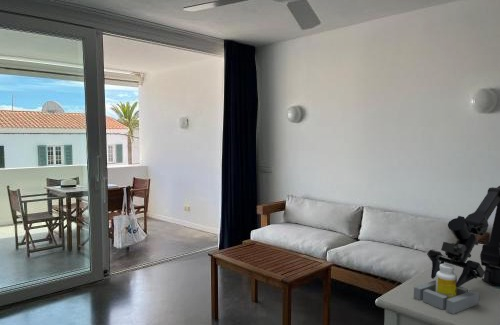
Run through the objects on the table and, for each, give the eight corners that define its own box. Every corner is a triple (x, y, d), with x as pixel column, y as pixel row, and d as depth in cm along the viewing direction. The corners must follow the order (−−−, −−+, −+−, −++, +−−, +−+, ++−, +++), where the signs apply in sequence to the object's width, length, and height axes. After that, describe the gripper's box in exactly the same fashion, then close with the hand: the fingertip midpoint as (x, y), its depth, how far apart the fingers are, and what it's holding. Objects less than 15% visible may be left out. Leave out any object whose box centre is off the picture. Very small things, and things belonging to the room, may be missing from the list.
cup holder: (438, 289, 150) (439, 279, 149) (478, 304, 137) (478, 292, 136) (413, 297, 142) (414, 287, 142) (453, 314, 129) (453, 302, 129)
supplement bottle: (458, 305, 135) (460, 269, 134) (438, 304, 137) (439, 268, 136) (452, 297, 142) (454, 263, 141) (433, 296, 143) (434, 262, 142)
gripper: (430, 228, 147) (411, 261, 143) (481, 240, 132) (461, 278, 127) (442, 245, 152) (423, 278, 147) (492, 259, 136) (473, 296, 131)
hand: (443, 282), depth 138 cm, fingers open, 9 cm apart
